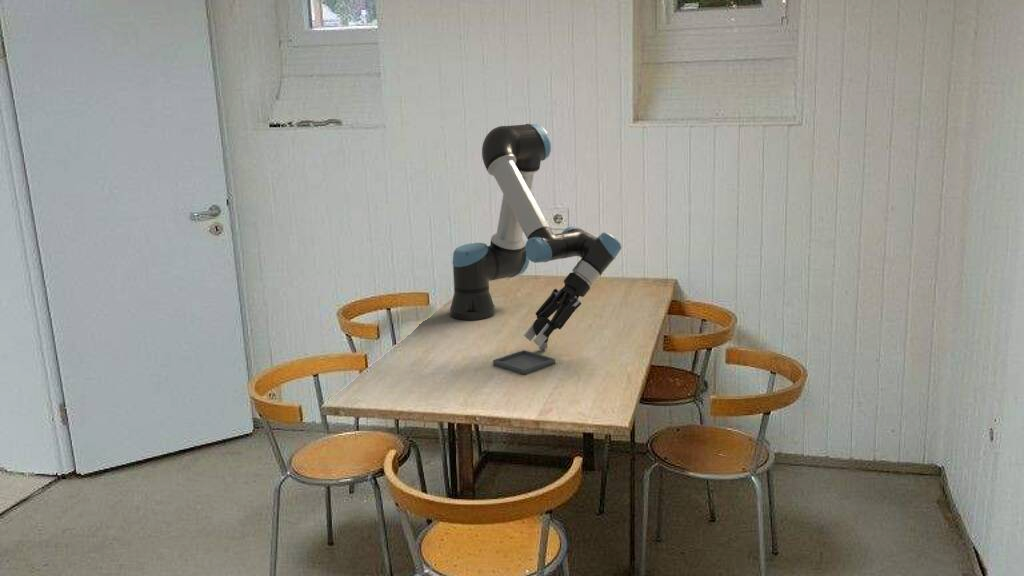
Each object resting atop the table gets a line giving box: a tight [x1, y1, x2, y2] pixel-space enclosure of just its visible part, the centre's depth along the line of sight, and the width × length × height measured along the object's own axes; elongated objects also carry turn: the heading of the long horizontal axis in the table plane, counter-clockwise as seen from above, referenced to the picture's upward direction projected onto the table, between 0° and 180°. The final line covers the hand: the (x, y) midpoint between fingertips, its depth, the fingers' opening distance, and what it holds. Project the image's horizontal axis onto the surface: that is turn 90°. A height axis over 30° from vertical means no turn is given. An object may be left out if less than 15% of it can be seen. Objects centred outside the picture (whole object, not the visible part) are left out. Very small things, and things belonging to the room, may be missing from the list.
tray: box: [492, 349, 556, 376], centre depth 252 cm, size 12×12×2 cm
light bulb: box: [532, 317, 551, 352], centre depth 264 cm, size 6×6×10 cm
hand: (531, 341), depth 262 cm, fingers closed on light bulb, 6 cm apart
